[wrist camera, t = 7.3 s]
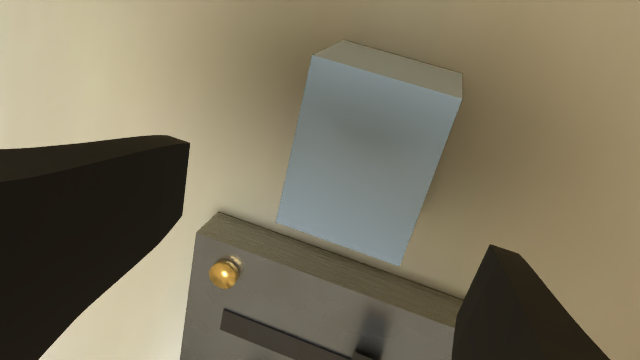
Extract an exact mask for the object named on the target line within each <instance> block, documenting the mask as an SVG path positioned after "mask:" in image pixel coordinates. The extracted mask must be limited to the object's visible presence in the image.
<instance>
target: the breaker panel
mask: <svg viewBox="0 0 640 360" xmlns="http://www.w3.org/2000/svg"><path fill="white" fill-rule="evenodd" d="M463 301H464V300H461V299H459V298H456V297H453V296H450V295H447V294H445V293H442V292H439V291H436V290H434V289H431V288H428V287H425V286H422V285H420V284H417V283H414V282H411V281H409V280H406V279H403V278H400V277H397V276H395V275H392V274H389V273H386V272H384V271H381V270H378V269H375V268H372V267H370V266H367V265H364V264H361V263H359V262H356V261H353V260H350V259H348V258H345V257H342V256H339V255H336V254H334V253H331V252H328V251H325V250H323V249H320V248H317V247H314V246H311V245H309V244H306V243H303V242H300V241H298V240H295V239H292V238H289V237H286V236H284V235H281V234H278V233H275V232H273V231H270V230H267V229H264V228H261V227H259V226H256V225H253V224H250V223H248V222H245V221H242V220H239V219H236V218H234V217H231V216H228V215H225V214H223V213H220V212H218V213H217V214H216V215H215V216H213V217H212V218H211V219H210V220H209V221H208V222H207V223H206V224H205V225H204V226H203V227H202V228H201V229H200V230H198V231H197V232H196V238H195V246H194V254H193V262H192V270H191V277H190V285H189V293H188V301H187V308H186V316H185V324H184V332H183V339H182V347H181V355H180V360H351V359H352V356H353V353H354V352H356V353H358V354H361V355H363V356H366V357H368V358H371V359H373V360H452V347H453V338H454V331H455V324H456V316H457V314H458V311H459V309H460V307H461V305H462V303H463Z"/></svg>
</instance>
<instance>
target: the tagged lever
mask: <svg viewBox="0 0 640 360" xmlns="http://www.w3.org/2000/svg"><path fill="white" fill-rule="evenodd" d="M351 360H373V359H371V358H368V357H366V356H363V355H361V354H358V353H356V352H354V353H353V356H352V359H351Z"/></svg>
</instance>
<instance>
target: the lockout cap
mask: <svg viewBox="0 0 640 360" xmlns="http://www.w3.org/2000/svg"><path fill="white" fill-rule="evenodd" d="M461 101H462V73H458V72H455V71H451V70H448V69H444V68H441V67H437V66H434V65H430V64H427V63H423V62H419V61H416V60H412V59H409V58H405V57H402V56H398V55H395V54H391V53H388V52H384V51H381V50H377V49H374V48H370V47H367V46H363V45H360V44H356V43H353V42H349V41H346V40H342V41H340V42H338V43H336V44H334V45H332V46H330V47H328V48H325V49H323V50H321V51H319V52H317V53H315V54H313V55H312V58H311V62H310V67H309V71H308V76H307V81H306V85H305V90H304V95H303V99H302V104H301V108H300V113H299V118H298V122H297V127H296V132H295V136H294V141H293V145H292V150H291V155H290V159H289V164H288V168H287V173H286V178H285V182H284V187H283V192H282V196H281V201H280V205H279V210H278V215H277V219H276V223H279V224H281V225H284V226H287V227H290V228H293V229H295V230H298V231H301V232H304V233H307V234H309V235H312V236H315V237H318V238H321V239H323V240H326V241H329V242H332V243H335V244H337V245H340V246H343V247H346V248H349V249H352V250H354V251H357V252H360V253H363V254H366V255H368V256H371V257H374V258H377V259H380V260H382V261H385V262H388V263H391V264H394V265H396V266H399V267H400V264H401V261H402V259H403V256H404V253H405V251H406V248H407V245H408V243H409V240H410V237H411V235H412V232H413V229H414V227H415V224H416V221H417V219H418V216H419V213H420V211H421V208H422V205H423V203H424V200H425V197H426V195H427V192H428V189H429V187H430V184H431V181H432V179H433V176H434V173H435V171H436V168H437V165H438V163H439V160H440V157H441V155H442V152H443V149H444V146H445V144H446V141H447V138H448V136H449V133H450V130H451V128H452V125H453V122H454V120H455V117H456V114H457V112H458V109H459V106H460V104H461Z"/></svg>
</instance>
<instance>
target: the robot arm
mask: <svg viewBox="0 0 640 360" xmlns="http://www.w3.org/2000/svg"><path fill="white" fill-rule="evenodd" d="M189 149H190V143H188V142H186V141H183V140H180V139H177V138H174V137H171V136H168V135H152V136H139V137H129V138H121V139H112V140H104V141H96V142H88V143H79V144H68V145H57V146H46V147H36V148H21V149H0V360H39V358H40V357H41V356H42V355H43V354H44V353H45V352H46V350H47V349H48V348H49V347H50V346H51V345H52V344H53V343H54V342H55V341H56V340H57V338H58V337H59V336H60V335H61V334H62V333H63V332H64V331H65V330H66V329H67V328H68V327H69V325H70V324H71V323H72V322H73V321H74V320H75V319H76V318H77V317H78V316H79V315H80V314H81V313H82V312H83V311H84V310H85V309H86V308H87V307H89V306H90V305H91V304H92V303H93V302H94V301H95V300H96V299H97V298H99V297H100V296H101V295H102V294H103V293H104V292H105V291H107V290H108V289H109V288H110V287H111V286H112V285H113V284H114V283H116V282H117V281H118V280H119V279H120V278H121V277H122V276H124V275H125V274H126V273H127V272H128V271H129V270H130V269H132V268H133V267H134V266H135V265H136V264H137V263H138V262H139V261H140V260H142V259H143V258H144V257H145V256H146V255H147V254H148V253H149V252H150V251H152V250H153V249H154V248H155V247H156V246H157V245H158V244H159V243H160V242H161V241H162V239H163V238H164V237H165V236H166V235H167V234H168V232H169V231H170V230H171V229H172V228H173V226H174V225H175V224H176V223H177V221H178V220H179V219H180V218H181V216H182V213H183V203H184V194H185V185H186V176H187V167H188V158H189ZM452 360H610V359H609V358H608V357H607V356H606V355H605V354H604V353H603V351H602V350H601V349H600V348H599V347H598V346H597V345H596V344H595V343H594V342H593V341H592V340H591V338H590V337H589V336H588V335H587V334H586V333H585V332H584V331H583V330H582V328H581V327H580V326H579V325H578V324H577V323H576V322H575V320H574V319H573V318H572V317H571V316H570V315H569V313H568V312H567V311H566V310H565V309H564V307H563V306H562V305H561V304H560V302H559V301H558V300H557V299H556V298H555V296H554V295H553V294H552V293H551V291H550V290H549V289H548V288H547V286H546V285H545V284H544V283H543V281H542V280H541V279H540V278H539V277H538V275H537V274H536V273H535V272H534V270H533V269H532V268H531V267H530V266H529V264H528V263H527V262H526V261H525V260H524V259H523V258H522V257H521V256H520V255H519V254H518V253H515V252H512V251H509V250H506V249H503V248H500V247H497V246H494V245H491V244H490V245H489V247H488V250H487V252H486V254H485V256H484V258H483V260H482V262H481V265H480V267H479V269H478V271H477V273H476V275H475V277H474V279H473V282H472V284H471V286H470V288H469V290H468V292H467V294H466V296H465V299H464V301H463V303H462V305H461V307H460V309H459V311H458V314H457V316H456V324H455V331H454V338H453V347H452Z"/></svg>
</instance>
